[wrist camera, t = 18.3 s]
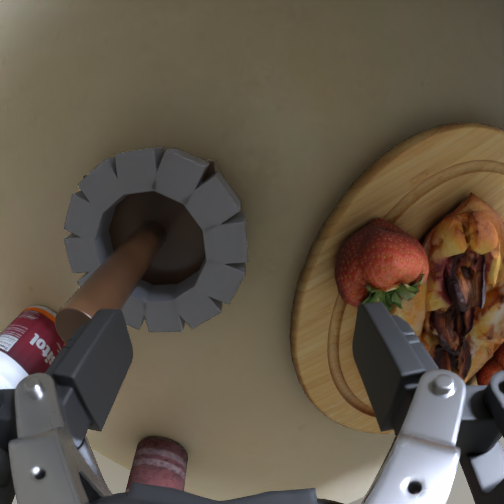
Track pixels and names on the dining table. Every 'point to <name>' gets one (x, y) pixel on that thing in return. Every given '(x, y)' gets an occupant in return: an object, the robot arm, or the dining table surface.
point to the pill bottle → (28, 345)
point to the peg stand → (138, 255)
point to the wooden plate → (408, 266)
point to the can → (159, 463)
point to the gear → (199, 206)
